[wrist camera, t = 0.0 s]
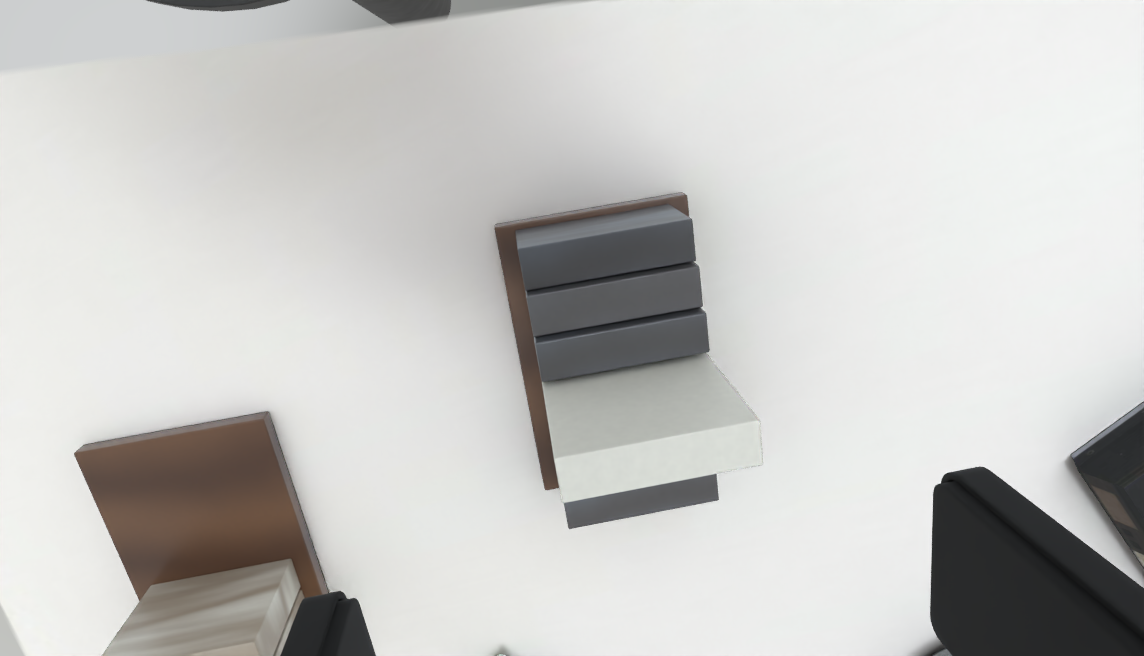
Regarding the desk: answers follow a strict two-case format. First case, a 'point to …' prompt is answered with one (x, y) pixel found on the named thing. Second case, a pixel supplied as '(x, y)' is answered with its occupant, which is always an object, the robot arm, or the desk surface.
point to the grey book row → (605, 318)
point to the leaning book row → (205, 538)
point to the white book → (648, 427)
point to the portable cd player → (1119, 475)
